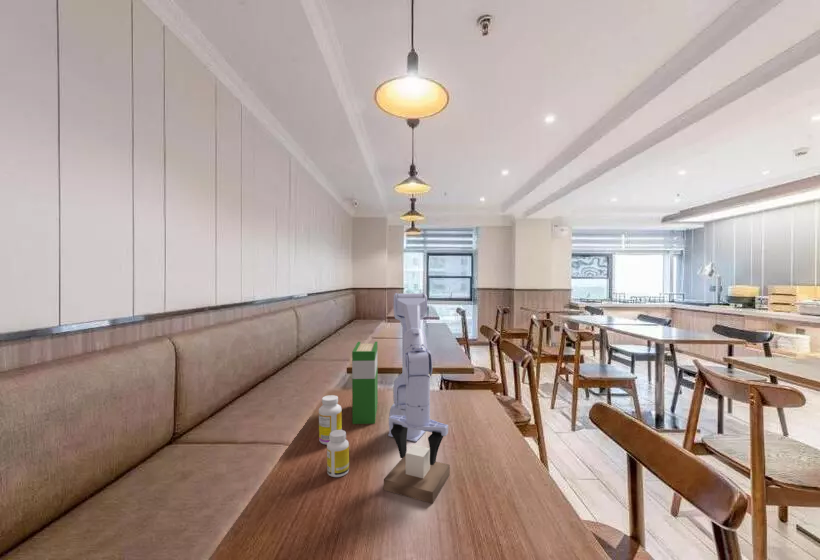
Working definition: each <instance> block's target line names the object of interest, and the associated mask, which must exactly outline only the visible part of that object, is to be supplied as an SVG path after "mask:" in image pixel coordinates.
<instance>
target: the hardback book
mask: <svg viewBox="0 0 820 560" xmlns="http://www.w3.org/2000/svg"><path fill="white" fill-rule="evenodd" d="M351 351H352V352H351V363H352V364H351V366H352V369H351V375H352V376H351V377H352V379H351V381H352V382H351V383H352V384H351V387H352V388H351V389H352V390H351V395H352V396H351V397H352V400H351V401H352V402H351V403H352V405H351V407H352V410H351V411H352V413H351V414H352V423H351V424H352V425H371V424H372V425H373V424H376V419H377V412H378V405H377V404H378V403H379V402H378V401H379V399H378V398H379V397H378V394H379V393H378V392H379V391H378V390H379V389H378V388H379V387H378V383H379V382H378V379H379V378H378V371H379V369H378V366H379V365H378V364H379V363H378V341H374V343H361V341H357V343H356V344H355V346H354V348H353V350H351Z"/></svg>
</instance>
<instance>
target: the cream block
mask: <svg viewBox="0 0 820 560" xmlns="http://www.w3.org/2000/svg"><path fill="white" fill-rule="evenodd" d="M429 470H430V447H426V446H422V445H417V444H412V445H411V447H410V448H409V449H408V450H407V452H406V474H407V475H411V476H415V477H419V478H424V477H425V476H426V474H427V473H428V471H429Z"/></svg>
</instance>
